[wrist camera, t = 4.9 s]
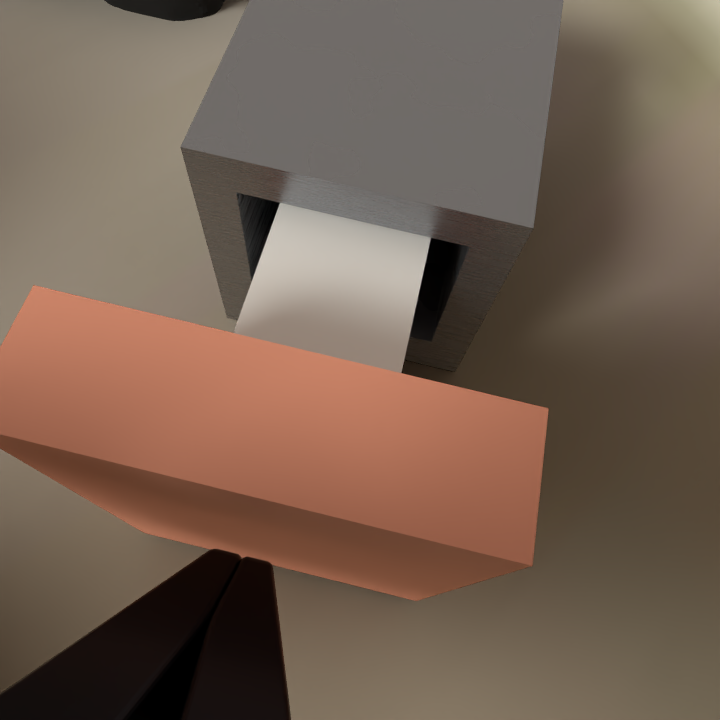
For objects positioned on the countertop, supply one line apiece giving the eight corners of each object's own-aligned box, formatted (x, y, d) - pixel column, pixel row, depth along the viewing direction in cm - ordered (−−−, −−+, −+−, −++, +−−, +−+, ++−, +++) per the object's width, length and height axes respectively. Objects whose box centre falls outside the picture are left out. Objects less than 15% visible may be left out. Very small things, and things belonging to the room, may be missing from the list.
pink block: (416, 600, 15) (532, 565, 7) (144, 533, 15) (-42, 424, 7) (476, 257, 19) (590, -5, 11) (264, 207, 19) (232, -83, 12)
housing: (455, 372, 18) (533, 228, 12) (227, 317, 18) (180, 147, 12) (498, 128, 22) (573, -77, 16) (312, 86, 22) (312, -133, 16)
